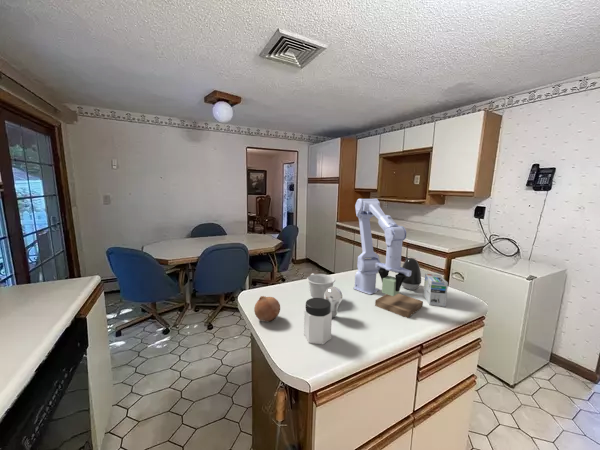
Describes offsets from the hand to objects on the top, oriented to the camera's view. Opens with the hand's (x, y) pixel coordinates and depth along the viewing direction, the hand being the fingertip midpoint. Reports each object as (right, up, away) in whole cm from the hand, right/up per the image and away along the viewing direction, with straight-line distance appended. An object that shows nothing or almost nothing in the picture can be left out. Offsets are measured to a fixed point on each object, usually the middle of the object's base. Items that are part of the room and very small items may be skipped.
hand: (391, 288), depth 107 cm
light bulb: (-25, -9, -7) cm, 28 cm away
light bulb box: (+22, -8, +9) cm, 25 cm away
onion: (-49, -9, -10) cm, 51 cm away
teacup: (-29, -7, +8) cm, 31 cm away
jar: (-32, -11, -21) cm, 39 cm away
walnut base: (+4, -8, +3) cm, 10 cm away
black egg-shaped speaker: (+17, -5, +24) cm, 30 cm away
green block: (0, -2, 0) cm, 2 cm away
